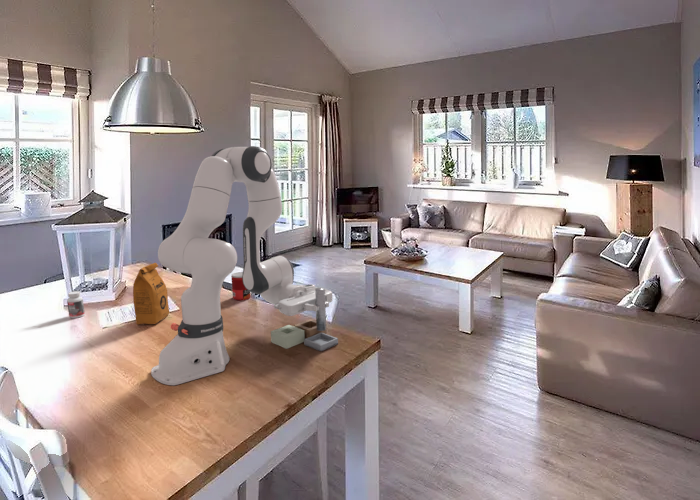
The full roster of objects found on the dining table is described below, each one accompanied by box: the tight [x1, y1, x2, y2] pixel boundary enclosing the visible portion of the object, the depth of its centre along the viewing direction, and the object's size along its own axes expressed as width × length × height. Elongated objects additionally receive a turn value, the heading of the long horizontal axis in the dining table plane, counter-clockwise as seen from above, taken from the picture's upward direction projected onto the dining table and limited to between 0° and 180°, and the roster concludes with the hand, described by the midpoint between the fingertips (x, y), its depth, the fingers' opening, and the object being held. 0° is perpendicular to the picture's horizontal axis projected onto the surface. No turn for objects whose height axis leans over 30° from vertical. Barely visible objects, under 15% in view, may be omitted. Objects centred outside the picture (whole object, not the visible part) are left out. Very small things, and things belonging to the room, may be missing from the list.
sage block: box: [270, 324, 305, 350], centre depth 154 cm, size 8×8×4 cm
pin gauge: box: [315, 287, 327, 331], centre depth 150 cm, size 3×3×14 cm
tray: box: [303, 332, 339, 352], centre depth 152 cm, size 8×8×2 cm
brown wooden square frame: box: [293, 318, 328, 339], centre depth 160 cm, size 8×8×4 cm
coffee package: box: [132, 262, 170, 326], centre depth 173 cm, size 10×12×22 cm
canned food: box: [231, 271, 252, 302], centre depth 201 cm, size 8×8×11 cm
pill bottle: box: [66, 290, 86, 319], centre depth 180 cm, size 5×5×10 cm
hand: (322, 306), depth 149 cm, fingers closed on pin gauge, 3 cm apart
